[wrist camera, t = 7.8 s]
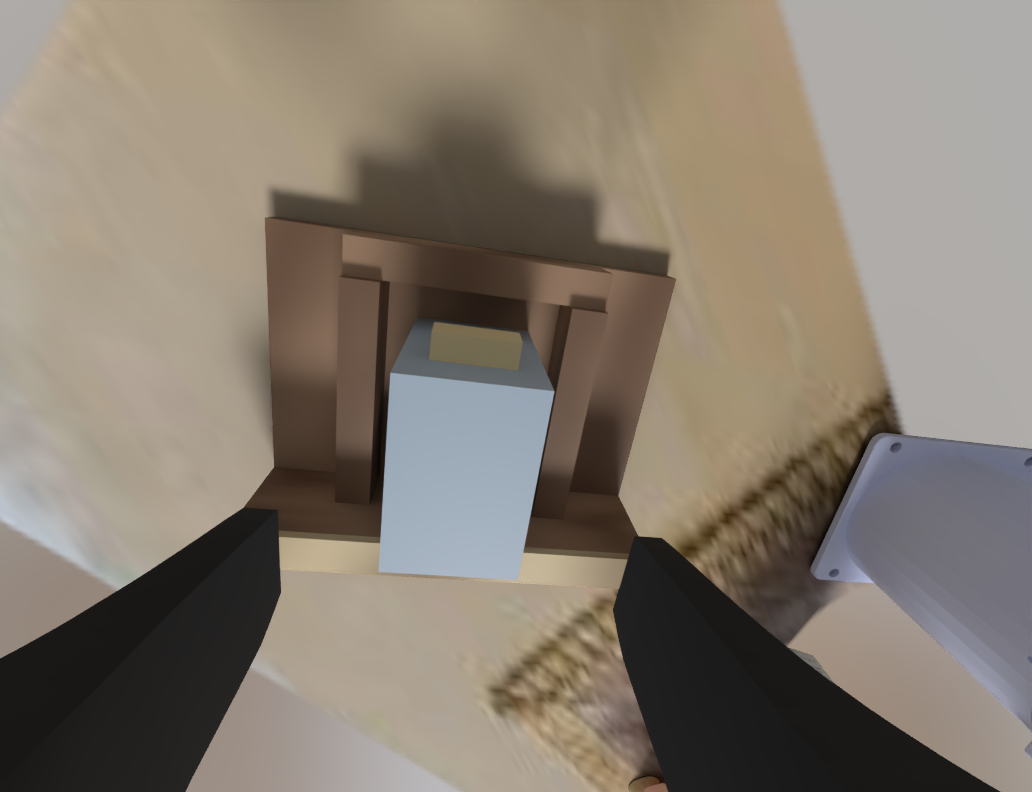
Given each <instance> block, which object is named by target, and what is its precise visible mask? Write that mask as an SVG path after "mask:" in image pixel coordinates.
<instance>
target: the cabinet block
mask: <svg viewBox="0 0 1032 792" xmlns="http://www.w3.org/2000/svg"><path fill="white" fill-rule="evenodd" d="M553 396H554V389H553V387H552V384H551V382H550V380H549V377H548V375H547V373H546V371H545V368H544V366H543V364H542V361H541V359H540V357H539V354H538V352H537V350H536V348H535V345H534V343H533V341H532V338H531V336H530V334H529V331H522V330H514V329H507V328H499V327H491V326H483V325H476V324H468V323H460V322H453V321H445V320H437V319H429V318H422V317H417V319H416V321H415V323H414V325H413V327H412V329H411V331H410V333H409V335H408V337H407V339H406V342H405V344H404V346H403V348H402V350H401V352H400V354H399V356H398V358H397V360H396V362H395V364H394V366H393V368H392V370H391V372H390V387H389V404H388V421H387V438H386V455H385V471H384V488H383V505H382V522H381V538H380V555H379V572H387V573H405V574H422V575H439V576H456V577H473V578H490V579H508V580H518V577H519V572H520V566H521V561H522V556H523V551H524V546H525V541H526V535H527V530H528V525H529V520H530V515H531V510H532V505H533V499H534V494H535V489H536V484H537V479H538V474H539V468H540V463H541V458H542V453H543V448H544V443H545V438H546V432H547V427H548V422H549V417H550V412H551V407H552V401H553Z"/></svg>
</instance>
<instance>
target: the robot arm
mask: <svg viewBox="0 0 1032 792" xmlns="http://www.w3.org/2000/svg"><path fill="white" fill-rule="evenodd" d="M893 444H894V445H893ZM892 445H893V446H892ZM891 446H892V447H891ZM811 573H812V574H813V575H814V576H815V577H816V578H817V579H820V580H832V581H848V582H864V583H875V584H876V585H877V586H878V587H879V588H880V589H881V590H882V591H883V592H884V593H886V594H887V595H888V596H889V597H890V598H891V599H892V600H893V601H894V602H895V603H896V604H897V605H898V606H899V607H900V608H901V609H902V610H903V611H904V612H906V613H907V614H908V615H909V616H910V617H911V618H912V619H913V620H914V621H915V622H916V623H917V624H918V625H919V626H920V627H921V628H922V629H923V630H925V631H926V632H927V633H928V634H929V635H930V636H931V637H932V638H933V639H934V640H935V641H936V642H937V643H938V644H939V645H940V646H942V648H943V649H945V650H946V651H947V652H948V653H949V654H950V655H951V656H952V657H953V658H954V659H955V660H956V661H957V662H958V663H959V664H960V665H962V666H963V667H964V668H965V669H966V670H967V671H968V672H969V673H970V674H971V675H972V676H973V677H974V678H975V679H976V680H977V681H978V682H979V683H981V684H982V685H983V686H984V687H985V688H986V689H987V690H988V691H989V692H990V693H991V694H992V695H993V696H994V697H995V698H996V699H997V700H998V701H1000V702H1001V703H1002V704H1003V705H1004V706H1005V707H1006V708H1007V709H1008V710H1009V711H1010V712H1011V713H1012V714H1013V715H1014V716H1015V717H1016V718H1017V719H1019V720H1020V721H1021V722H1022V723H1023V724H1024V725H1025V726H1026V727H1027V728H1028V729H1029V730H1030V731H1031V732H1032V449H1027V448H1017V447H1008V446H999V445H990V444H981V443H972V442H963V441H954V440H944V439H936V438H926V437H918V436H909V435H900V434H891V433H880V434H877V435H875V436H874V437H873V438H872V439H871V441H870V442H869V444H868V447H867V449H866V451H865V453H864V455H863V457H862V459H861V462H860V464H859V466H858V468H857V470H856V472H855V474H854V476H853V479H852V481H851V483H850V485H849V487H848V489H847V491H846V494H845V496H844V498H843V500H842V502H841V504H840V506H839V509H838V511H837V513H836V515H835V517H834V519H833V521H832V523H831V526H830V528H829V530H828V532H827V534H826V536H825V538H824V541H823V543H822V545H821V547H820V549H819V551H818V553H817V555H816V558H815V560H814V562H813V564H812V566H811ZM280 594H281V581H280V553H279V525H278V510H273V509H259V508H246V507H244V508H243V509H241V510H240V511H238V512H237V513H235V514H233V515H232V516H230V517H229V518H227V519H226V520H224V521H223V522H221V523H220V524H219V525H217V526H216V527H214V528H213V529H211V530H210V531H208V532H207V533H205V534H204V535H202V536H201V537H199V538H198V539H197V540H195V541H194V542H192V543H191V544H189V545H188V546H186V547H185V548H183V549H182V550H180V551H179V552H177V553H176V554H174V555H173V556H171V557H170V558H168V559H167V560H165V561H164V562H162V563H161V564H159V565H157V566H156V567H154V568H153V569H151V570H150V571H148V572H147V573H145V574H144V575H142V576H141V577H139V578H138V579H136V580H134V581H133V582H131V583H130V584H128V585H126V586H125V587H123V588H121V589H120V590H118V591H116V592H115V593H113V594H112V595H110V596H108V597H107V598H105V599H103V600H102V601H100V602H98V603H97V604H95V605H94V606H92V607H90V608H89V609H87V610H85V611H84V612H82V613H80V614H79V615H77V616H76V617H74V618H72V619H71V620H69V621H67V622H66V623H64V624H62V625H60V626H59V627H57V628H55V629H53V630H52V631H50V632H48V633H46V634H45V635H43V636H41V637H39V638H38V639H36V640H34V641H32V642H30V643H28V644H27V645H25V646H23V647H21V648H19V649H18V650H16V651H14V652H12V653H10V654H8V655H6V656H4V657H3V658H0V792H185V791H186V789H187V787H188V785H189V783H190V781H191V779H192V776H193V775H194V773H195V771H196V769H197V767H198V765H199V764H200V762H201V760H202V758H203V756H204V754H205V752H206V750H207V748H208V746H209V744H210V742H211V740H212V739H213V737H214V735H215V733H216V731H217V729H218V727H219V725H220V723H221V721H222V719H223V718H224V715H225V714H226V712H227V710H228V708H229V706H230V704H231V702H232V700H233V698H234V697H235V695H236V693H237V691H238V689H239V687H240V685H241V683H242V681H243V679H244V677H245V675H246V673H247V671H248V669H249V668H250V666H251V664H252V662H253V660H254V658H255V656H256V654H257V652H258V650H259V648H260V646H261V644H262V641H263V639H264V636H265V633H266V631H267V628H268V626H269V623H270V621H271V618H272V615H273V613H274V610H275V607H276V605H277V602H278V599H279V596H280ZM613 613H614V618H615V623H616V628H617V633H618V638H619V642H620V647H621V651H622V656H623V660H624V663H625V666H626V669H627V672H628V675H629V678H630V681H631V684H632V687H633V690H634V693H635V696H636V699H637V702H638V705H639V707H640V710H641V713H642V716H643V719H644V722H645V725H646V728H647V731H648V734H649V736H650V739H651V742H652V745H653V748H654V751H655V754H656V757H657V760H658V763H659V765H660V768H661V771H662V774H663V777H664V780H665V783H666V787H667V790H668V792H1000V791H998V790H997V789H995V788H993V787H991V786H990V785H988V784H986V783H984V782H983V781H981V780H980V779H978V778H976V777H975V776H973V775H971V774H970V773H968V772H966V771H965V770H963V769H961V768H960V767H958V766H957V765H955V764H953V763H952V762H950V761H948V760H947V759H945V758H944V757H942V756H940V755H939V754H937V753H936V752H934V751H933V750H931V749H930V748H928V747H926V746H925V745H923V744H922V743H920V742H919V741H917V740H916V739H914V738H913V737H911V736H910V735H908V734H906V733H905V732H903V731H902V730H900V729H899V728H897V727H896V726H894V725H893V724H891V723H890V722H888V721H887V720H885V719H884V718H882V717H881V716H879V715H878V714H876V713H875V712H873V711H872V710H870V709H869V708H868V707H866V706H865V705H863V704H862V703H861V702H859V701H858V700H856V699H855V698H854V697H852V696H851V695H850V694H848V693H847V692H845V691H844V690H842V689H841V688H840V687H839V686H837V685H836V684H834V683H833V682H832V681H830V680H829V679H827V678H826V677H825V676H823V675H822V674H821V673H819V672H818V671H817V670H815V669H814V668H813V667H812V666H810V665H809V664H808V663H806V662H805V661H804V660H802V659H801V658H800V657H799V656H797V655H796V654H795V653H794V652H793V651H791V650H790V649H789V648H788V647H786V646H785V645H784V644H783V643H781V642H780V641H779V640H778V639H777V638H775V637H774V636H773V635H772V634H770V633H769V632H768V631H767V630H766V629H764V628H763V627H762V626H761V625H760V624H759V623H757V622H756V621H755V620H754V619H753V618H751V617H750V616H749V615H748V614H747V613H746V612H745V611H743V610H742V609H741V608H740V607H739V606H738V605H737V604H735V603H734V602H733V601H732V600H731V599H730V598H729V597H728V596H726V595H725V594H724V593H723V592H722V591H721V590H720V589H719V588H718V587H716V586H715V585H714V584H713V583H712V582H711V581H710V580H709V579H708V578H707V577H705V576H704V575H703V574H702V573H701V572H700V571H699V570H698V569H697V568H696V567H694V566H693V565H692V564H691V563H690V562H689V561H688V560H687V559H686V558H684V557H683V556H682V555H681V554H680V553H679V552H678V551H677V550H675V549H674V548H673V547H672V546H671V545H670V544H668V543H667V542H666V541H665V540H663V539H662V538H653V537H639V536H634V540H633V543H632V546H631V550H630V553H629V557H628V560H627V564H626V567H625V570H624V574H623V577H622V581H621V584H620V587H619V591H618V594H617V598H616V601H615V605H614V608H613ZM1025 752H1026V753H1027V755H1028V756H1029V757H1030V758H1031V759H1032V741H1031V743H1030V744H1029V745H1028V746H1027V747H1026V748H1025Z"/></svg>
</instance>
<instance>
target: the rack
mask: <svg viewBox="0 0 1032 792" xmlns="http://www.w3.org/2000/svg"><path fill="white" fill-rule="evenodd" d="M265 233H266V259H267V286H268V313H269V339H270V366H271V392H272V419H273V446H274V468H273V469H272V471H271V472H270V473H269V475H268V476H267V477H266V479H265V480H264V481H263V483H262V484H261V485H260V487H259V488H258V489H257V491H256V492H255V493H254V495H253V496H252V497H251V499H250V500H249V501H248V503H247V504H246V505H245V507H246V508H259V509H273V510H278V525H279V553H280V570H296V571H314V572H331V573H349V574H367V575H385V576H402V577H420V578H438V579H455V580H473V581H491V582H508V583H526V584H544V585H562V586H579V587H597V588H615V589H619V587H620V584H621V581H622V577H623V574H624V570H625V567H626V564H627V560H628V557H629V553H630V550H631V546H632V543H633V540H634V536H638V535H637V533H636V531H635V529H634V527H633V525H632V523H631V521H630V519H629V517H628V515H627V512H626V510H625V508H624V506H623V504H622V502H621V500H620V498H619V496H618V495H619V491H620V487H621V483H622V480H623V476H624V472H625V468H626V465H627V461H628V457H629V453H630V450H631V446H632V442H633V438H634V435H635V431H636V427H637V424H638V420H639V416H640V412H641V409H642V405H643V401H644V397H645V394H646V390H647V386H648V382H649V379H650V375H651V371H652V367H653V364H654V360H655V356H656V352H657V349H658V345H659V341H660V337H661V334H662V330H663V326H664V322H665V319H666V315H667V311H668V308H669V304H670V300H671V296H672V293H673V289H674V285H675V281H676V279H674V278H672V277H669V276H665V275H658V274H651V273H645V272H638V271H631V270H625V269H618V268H611V267H605V266H598V265H591V264H585V263H578V262H571V261H565V260H558V259H551V258H545V257H538V256H531V255H524V254H518V253H511V252H504V251H498V250H491V249H484V248H478V247H471V246H464V245H458V244H451V243H444V242H438V241H431V240H424V239H418V238H411V237H404V236H398V235H391V234H384V233H378V232H371V231H364V230H358V229H351V228H344V227H338V226H331V225H324V224H318V223H311V222H304V221H298V220H291V219H284V218H277V217H268V218H265ZM417 317H422V318H429V319H437V320H445V321H453V322H460V323H468V324H476V325H483V326H491V327H499V328H507V329H514V330H522V331H529V334H530V336H531V338H532V341H533V343H534V345H535V348H536V350H537V352H538V354H539V357H540V359H541V361H542V364H543V366H544V368H545V371H546V373H547V375H548V377H549V380H550V382H551V384H552V387H553V389H554V396H553V401H552V407H551V412H550V417H549V422H548V427H547V432H546V438H545V443H544V448H543V453H542V458H541V463H540V468H539V474H538V479H537V484H536V489H535V494H534V499H533V505H532V510H531V515H530V520H529V525H528V530H527V535H526V541H525V546H524V551H523V556H522V561H521V566H520V572H519V577H518V580H508V579H490V578H473V577H456V576H439V575H422V574H405V573H387V572H379V555H380V538H381V522H382V505H383V488H384V471H385V455H386V438H387V421H388V404H389V387H390V372H391V370H392V368H393V366H394V364H395V362H396V360H397V358H398V356H399V354H400V352H401V350H402V348H403V346H404V344H405V342H406V339H407V337H408V335H409V333H410V331H411V329H412V327H413V325H414V323H415V321H416V319H417Z"/></svg>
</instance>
